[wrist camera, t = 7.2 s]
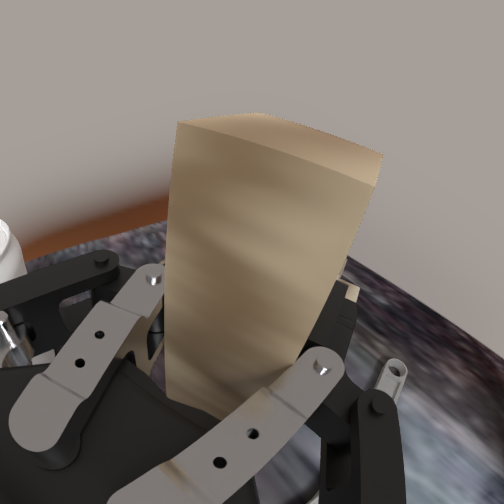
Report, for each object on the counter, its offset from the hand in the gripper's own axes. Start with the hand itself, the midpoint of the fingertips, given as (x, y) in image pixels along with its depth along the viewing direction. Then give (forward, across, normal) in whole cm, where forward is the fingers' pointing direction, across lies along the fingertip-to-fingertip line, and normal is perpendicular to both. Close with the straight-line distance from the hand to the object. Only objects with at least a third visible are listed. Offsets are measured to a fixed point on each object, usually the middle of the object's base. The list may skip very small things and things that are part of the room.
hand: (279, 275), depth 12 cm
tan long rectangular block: (-3, 0, +8) cm, 8 cm away
